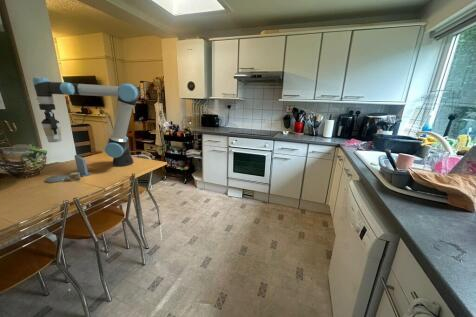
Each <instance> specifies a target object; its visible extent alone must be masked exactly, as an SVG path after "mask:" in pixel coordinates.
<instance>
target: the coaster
mask: <svg viewBox="0 0 476 317" xmlns="http://www.w3.org/2000/svg"><path fill="white" fill-rule="evenodd" d="M68 179H70V174H56V175H52V176H49V177H47V178H45V183H48V184H49V183H50V184H52V183H54V184H55V183H61V182H64V181H66V180H68Z"/></svg>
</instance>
